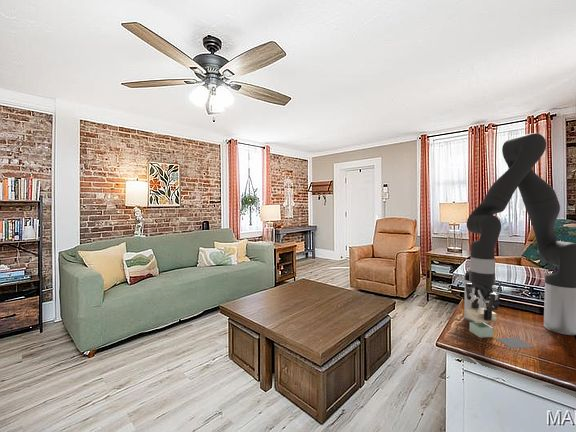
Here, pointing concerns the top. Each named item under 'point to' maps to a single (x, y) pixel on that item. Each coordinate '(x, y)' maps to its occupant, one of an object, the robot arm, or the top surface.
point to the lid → (479, 315)
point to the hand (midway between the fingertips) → (481, 316)
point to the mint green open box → (481, 329)
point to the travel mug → (467, 302)
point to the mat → (514, 342)
